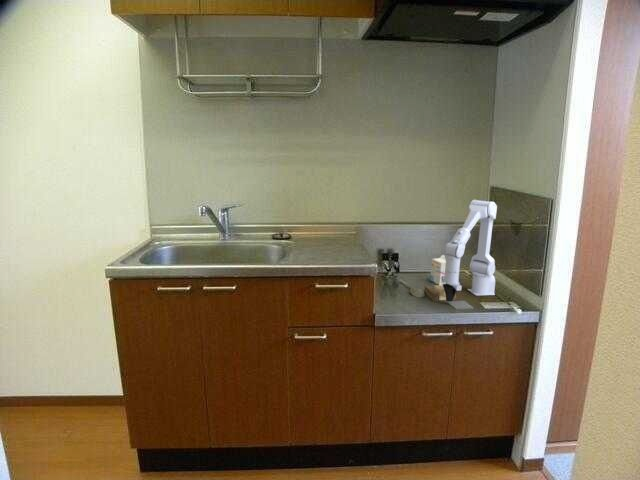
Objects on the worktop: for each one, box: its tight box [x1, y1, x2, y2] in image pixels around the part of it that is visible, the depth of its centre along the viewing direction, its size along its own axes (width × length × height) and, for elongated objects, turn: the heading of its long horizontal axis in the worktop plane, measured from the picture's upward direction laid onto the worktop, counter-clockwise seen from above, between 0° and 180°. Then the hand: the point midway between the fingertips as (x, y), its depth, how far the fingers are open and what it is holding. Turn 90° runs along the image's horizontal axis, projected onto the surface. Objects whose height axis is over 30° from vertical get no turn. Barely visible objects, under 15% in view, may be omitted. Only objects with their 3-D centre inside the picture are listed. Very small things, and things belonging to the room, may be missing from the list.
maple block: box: [433, 284, 447, 301], centre depth 177 cm, size 4×6×5 cm
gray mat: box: [446, 300, 474, 310], centre depth 169 cm, size 8×8×1 cm
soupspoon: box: [398, 279, 426, 298], centre depth 189 cm, size 22×3×7 cm
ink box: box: [429, 254, 446, 285], centre depth 198 cm, size 9×8×13 cm
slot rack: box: [423, 285, 457, 302], centre depth 179 cm, size 10×11×3 cm
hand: (449, 300), depth 170 cm, fingers closed
